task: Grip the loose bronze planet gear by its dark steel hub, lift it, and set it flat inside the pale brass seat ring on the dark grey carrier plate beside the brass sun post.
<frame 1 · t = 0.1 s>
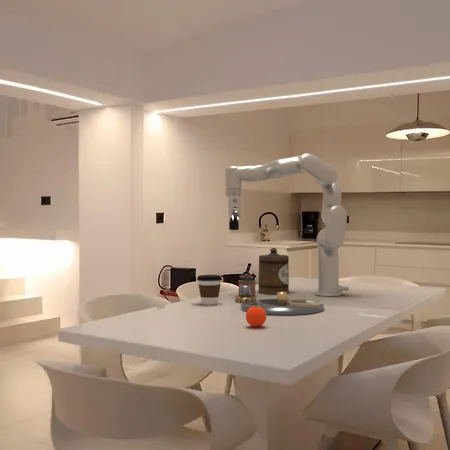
hand: (233, 229, 253), 31 cm above the table, fingers open, 9 cm apart
carrier plate: (282, 308, 219), on the table
wooden container: (273, 293, 268), on the table
coffee cup: (209, 304, 232), on the table
clementine: (257, 327, 183), on the table
planet gear: (245, 301, 238), on the table
lighter: (247, 297, 254), on the table
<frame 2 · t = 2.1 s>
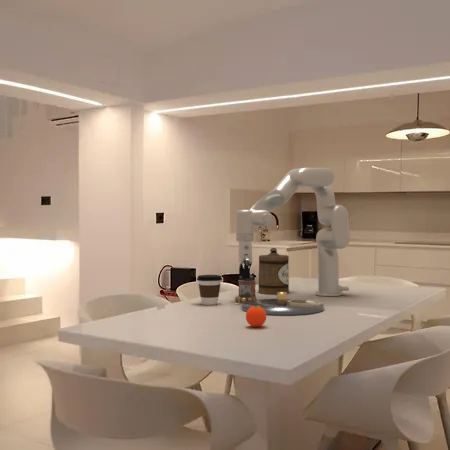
hand: (244, 277, 238), 11 cm above the table, fingers open, 9 cm apart
nothing on the table moved.
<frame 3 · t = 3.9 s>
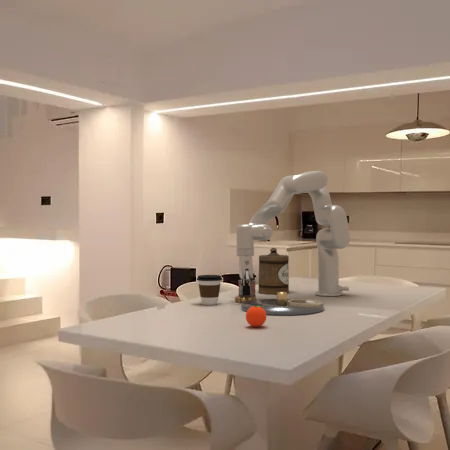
hand: (245, 293, 238), 3 cm above the table, fingers closed on planet gear, 5 cm apart
planet gear: (245, 301, 238), on the table, touching gripper
everything else where it was.
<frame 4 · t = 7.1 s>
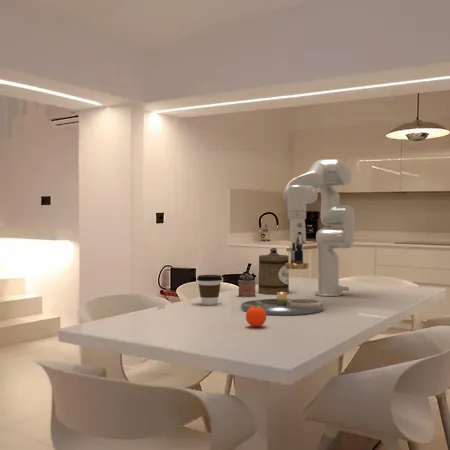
hand: (297, 259, 222), 19 cm above the table, fingers closed on planet gear, 5 cm apart
planet gear: (296, 268, 222), point 16 cm above the table, touching gripper
everything else where it was.
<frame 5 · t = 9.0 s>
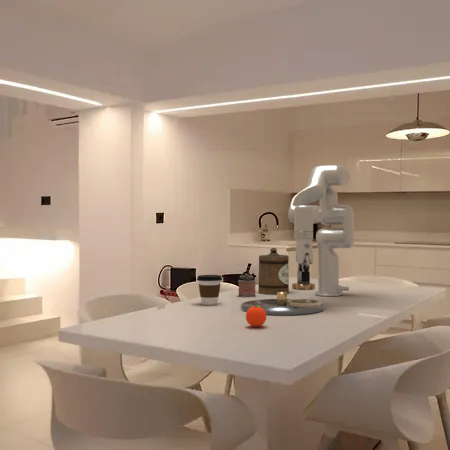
hand: (303, 280, 220), 11 cm above the table, fingers closed on planet gear, 5 cm apart
planet gear: (303, 288, 220), point 8 cm above the table, touching gripper
everything else where it was.
when the fingers open (7 cm above the table, at t = 10.5 s): planet gear drops 2 cm, resting on carrier plate.
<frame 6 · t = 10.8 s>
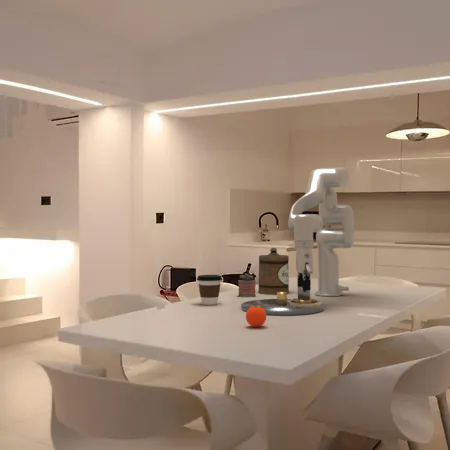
hand: (303, 288, 220), 8 cm above the table, fingers open, 7 cm apart
planet gear: (303, 304, 220), point 1 cm above the table, touching carrier plate
everything else where it was.
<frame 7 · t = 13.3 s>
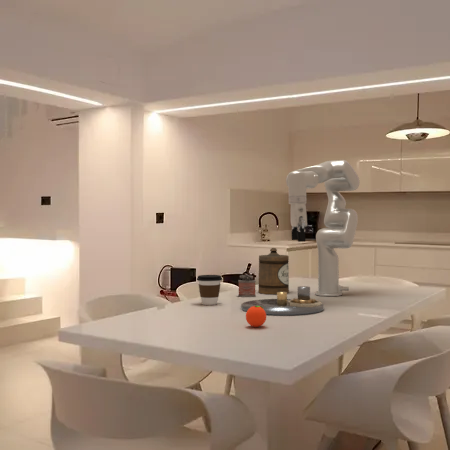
hand: (298, 240, 233), 27 cm above the table, fingers open, 9 cm apart
nothing on the table moved.
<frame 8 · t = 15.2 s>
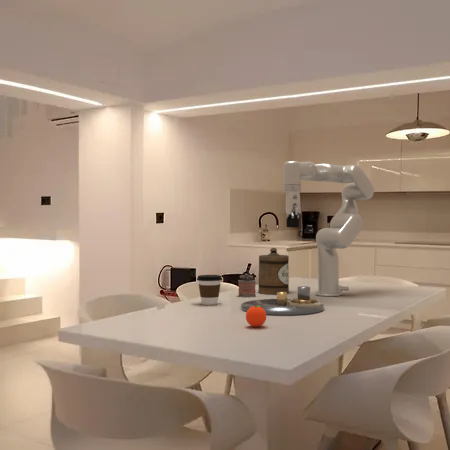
hand: (292, 227, 244), 32 cm above the table, fingers open, 9 cm apart
nothing on the table moved.
at the end: planet gear 0.1 cm from the target spot on the carrier plate, point 1.5 cm above the carrier plate's base; planet gear tilted 0°; the gripper is holding nothing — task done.
